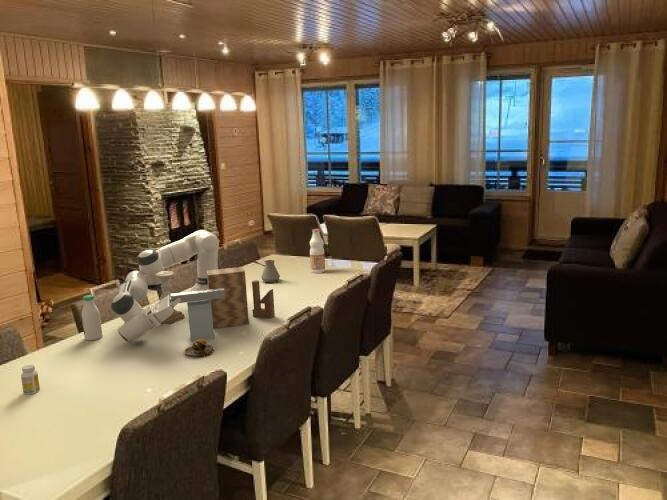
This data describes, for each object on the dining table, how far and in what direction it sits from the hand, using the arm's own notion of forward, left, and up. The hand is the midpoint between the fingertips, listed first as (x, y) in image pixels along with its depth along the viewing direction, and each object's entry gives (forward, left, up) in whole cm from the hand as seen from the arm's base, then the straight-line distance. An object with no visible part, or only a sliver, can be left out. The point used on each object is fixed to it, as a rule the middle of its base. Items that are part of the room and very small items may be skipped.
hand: (180, 297), depth 249 cm
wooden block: (+4, +43, -20) cm, 47 cm away
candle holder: (-31, +11, -20) cm, 39 cm away
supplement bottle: (+3, -65, -20) cm, 68 cm away
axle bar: (+4, +7, -2) cm, 8 cm away
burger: (+20, -5, -20) cm, 29 cm away
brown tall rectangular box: (-1, +26, -20) cm, 32 cm away
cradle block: (+4, +7, -20) cm, 21 cm away
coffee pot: (-51, +88, -20) cm, 104 cm away
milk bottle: (-36, -25, -20) cm, 48 cm away
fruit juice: (-40, +125, -20) cm, 133 cm away
